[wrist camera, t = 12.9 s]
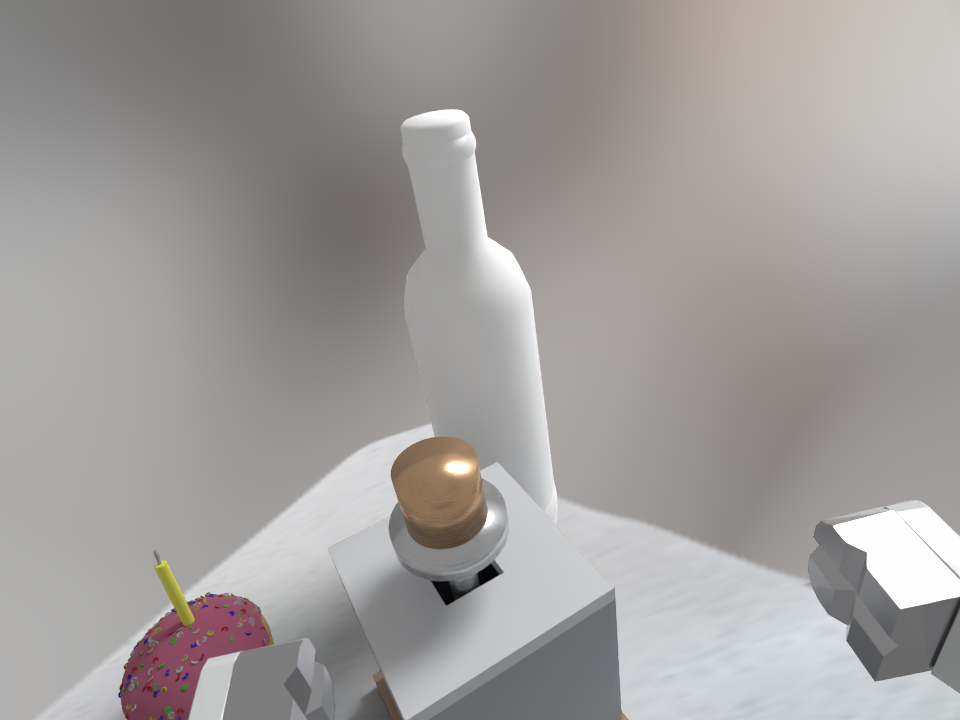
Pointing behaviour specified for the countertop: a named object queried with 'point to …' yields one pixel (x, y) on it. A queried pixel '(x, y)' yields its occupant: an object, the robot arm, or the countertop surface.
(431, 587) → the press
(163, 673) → the cupcake
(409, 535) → the plunger
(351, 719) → the countertop surface
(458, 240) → the bottle
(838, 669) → the countertop surface
